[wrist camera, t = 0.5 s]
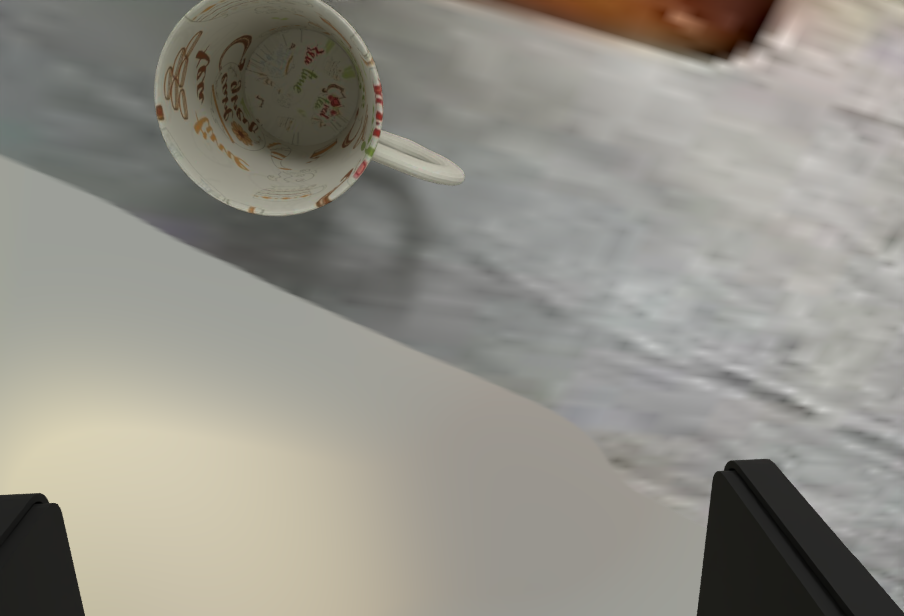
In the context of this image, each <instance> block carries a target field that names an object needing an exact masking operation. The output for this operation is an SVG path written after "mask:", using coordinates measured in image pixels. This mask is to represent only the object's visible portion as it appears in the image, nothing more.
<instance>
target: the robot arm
mask: <svg viewBox="0 0 904 616" xmlns="http://www.w3.org/2000/svg"><path fill="white" fill-rule="evenodd" d="M0 616H85V614H84V609H83V605H82V601H81V596H80V591H79V587H78V583H77V578H76V574H75V569H74V565H73V560H72V556H71V551H70V547H69V542H68V538H67V533H66V529H65V525H64V520H63V516H62V512H61V509H60V507H59V506H58V504H56V503H49V502H48V500H47V498H46V497H45V495H43V494H41V493H34V494H13V495H0ZM697 616H904V613H903V611H902V610H901V609H900V608H899V607H898V606H897V604H896V603H895V602H894V601H893V600H892V599H891V597H890V596H889V595H888V594H887V593H886V592H885V590H884V589H883V588H882V587H881V586H880V585H879V584H878V582H877V581H876V580H875V579H874V578H873V577H872V575H871V574H870V573H869V572H868V571H867V570H866V568H865V567H864V566H863V565H862V564H861V563H860V561H859V560H858V559H857V558H856V557H855V556H854V555H853V554H852V553H851V552H850V551H849V550H848V548H847V547H846V546H845V545H844V544H843V543H842V541H841V540H840V539H839V538H838V537H837V536H836V534H835V533H834V532H833V531H832V530H831V529H830V527H829V526H828V525H827V524H826V523H825V522H824V521H823V519H822V518H821V517H820V516H819V515H818V514H817V512H816V511H815V510H814V509H813V508H812V507H811V505H810V504H809V503H808V502H807V501H806V500H805V498H804V497H803V496H802V495H801V494H800V493H799V491H798V490H797V489H796V488H795V487H794V486H793V484H792V483H791V482H790V481H789V480H788V479H787V477H786V476H785V475H784V474H783V473H782V472H781V471H780V469H779V468H778V467H777V466H776V465H775V464H774V463H773V462H772V461H771V460H769V459H754V460H733V461H729V462H728V463H727V464H726V466H725V468H724V471H717V472H716V473H715V475H714V477H713V482H712V490H711V499H710V508H709V516H708V525H707V533H706V542H705V551H704V559H703V568H702V576H701V585H700V593H699V602H698V610H697Z"/></svg>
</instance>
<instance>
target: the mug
mask: <svg viewBox="0 0 904 616" xmlns="http://www.w3.org/2000/svg"><path fill="white" fill-rule="evenodd" d="M154 100H155V109H156V115H157V119H158V124H159V127H160V130H161V133H162V136H163V138H164V140H165V143H166V145H167V147H168V149H169V151H170V152H171V154H172V156H173V158H174V159H175V161H176V162H177V163H178V165H179V166H180V168H181V169H182V170H183V171H184V172H185V174H186V175H187V176H188V177H189V178H190V179H191V180H192V181H193V182H194V183H195V184H196V185H197V186H199V187H200V188H201V189H202V190H203V191H205V192H206V193H207V194H209V195H210V196H212V197H213V198H215V199H217V200H219V201H220V202H222V203H224V204H226V205H228V206H231V207H233V208H235V209H238V210H241V211H244V212H248V213H252V214H257V215H264V216H289V215H296V214H301V213H305V212H309V211H312V210H315V209H317V208H320V207H322V206H324V205H326V204H328V203H330V202H332V201H333V200H335V199H336V198H338V197H339V196H341V195H342V194H343V193H344V192H346V191H347V190H348V189H349V188H350V187H351V186H352V185H353V184H354V183H355V182H356V181H357V180H358V178H359V177H360V176H361V175H362V173H363V172H364V171H365V169H366V167H367V166H368V164H369V162H370V161H371V160H373V161H375V162H378V163H380V164H383V165H385V166H388V167H390V168H393V169H395V170H398V171H400V172H403V173H405V174H408V175H411V176H413V177H416V178H419V179H422V180H425V181H429V182H433V183H437V184H444V185H453V186H455V185H459V184H461V183H462V182H463V181H464V179H465V175H464V172H463V171H462V170H461V169H460V168H459V167H458V166H457V165H456V164H454V163H453V162H452V161H450V160H448V159H447V158H445V157H443V156H441V155H439V154H437V153H435V152H433V151H430V150H428V149H426V148H424V147H423V146H421V145H419V144H417V143H415V142H414V141H411V140H409V139H406V138H403V137H400V136H397V135H394V134H391V133H388V132H385V131H383V130H381V128H382V121H383V95H382V88H381V82H380V78H379V75H378V71H377V68H376V66H375V63H374V60H373V58H372V56H371V54H370V52H369V50H368V48H367V47H366V45H365V43H364V42H363V40H362V39H361V37H360V36H359V34H358V33H357V32H356V31H355V29H354V28H353V27H352V26H351V25H350V24H349V23H348V22H347V20H346V19H345V18H343V17H342V16H341V15H340V14H339V13H338V12H337V11H335V10H334V9H333V8H331V7H330V6H329V5H327V4H326V3H324V2H322V1H321V0H203V1H201V2H200V3H198V4H197V5H196V6H194V7H193V8H192V9H191V10H190V11H189V12H188V13H186V14H185V15H184V16H183V18H182V19H181V20H180V21H179V22H178V23H177V25H176V26H175V27H174V29H173V30H172V32H171V33H170V35H169V37H168V39H167V41H166V43H165V45H164V47H163V49H162V52H161V54H160V57H159V61H158V65H157V68H156V75H155V83H154Z"/></svg>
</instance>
